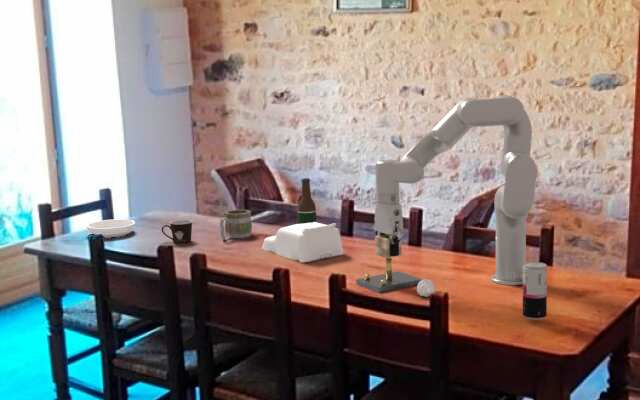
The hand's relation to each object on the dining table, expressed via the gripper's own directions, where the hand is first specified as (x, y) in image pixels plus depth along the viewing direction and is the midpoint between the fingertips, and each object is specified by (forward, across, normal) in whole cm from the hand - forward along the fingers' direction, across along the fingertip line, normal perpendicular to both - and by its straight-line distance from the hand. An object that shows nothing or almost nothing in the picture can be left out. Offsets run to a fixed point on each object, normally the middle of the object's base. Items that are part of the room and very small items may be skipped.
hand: (388, 253), depth 293 cm
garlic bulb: (+11, -20, 0) cm, 23 cm away
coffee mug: (+11, +97, +33) cm, 103 cm away
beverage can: (+10, -53, -12) cm, 56 cm away
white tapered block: (+11, +53, +2) cm, 55 cm away
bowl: (+11, +126, +51) cm, 136 cm away
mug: (+11, +90, +12) cm, 91 cm away
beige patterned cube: (+1, 0, 0) cm, 1 cm away
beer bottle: (+11, +80, -16) cm, 82 cm away
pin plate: (+10, 0, 0) cm, 10 cm away
